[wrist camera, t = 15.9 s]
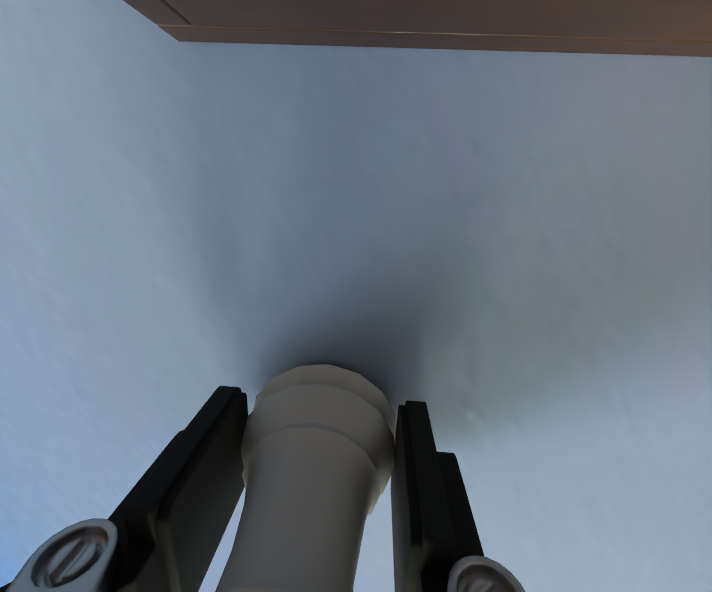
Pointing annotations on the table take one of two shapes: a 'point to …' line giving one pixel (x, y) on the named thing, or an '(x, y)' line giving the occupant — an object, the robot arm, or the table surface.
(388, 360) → the table surface
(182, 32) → the cabinet
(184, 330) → the table surface
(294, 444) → the rook chess piece
